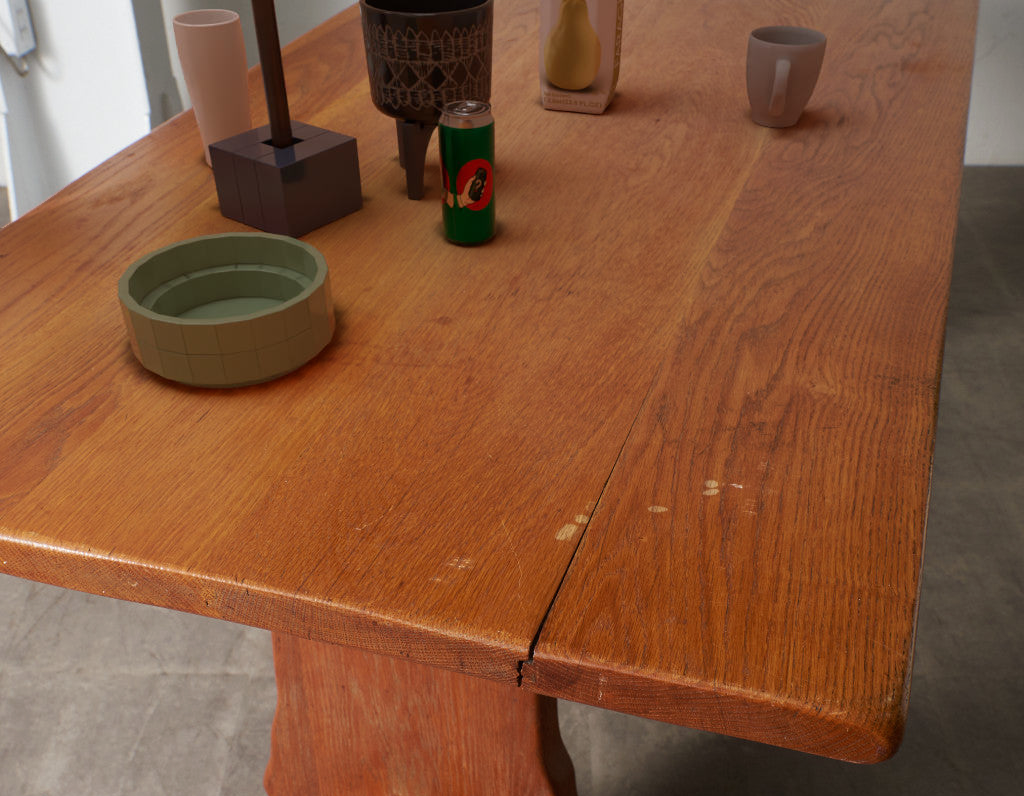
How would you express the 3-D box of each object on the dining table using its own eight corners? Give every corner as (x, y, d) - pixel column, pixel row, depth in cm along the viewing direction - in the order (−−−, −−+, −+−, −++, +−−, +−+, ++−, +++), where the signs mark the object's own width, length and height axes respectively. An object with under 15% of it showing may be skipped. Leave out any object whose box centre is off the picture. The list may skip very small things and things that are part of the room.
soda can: (505, 232, 97) (505, 104, 90) (478, 252, 94) (474, 120, 86) (461, 221, 99) (457, 95, 92) (432, 240, 96) (425, 111, 88)
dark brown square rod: (276, 211, 101) (242, -8, 89) (291, 205, 102) (260, -12, 90) (294, 217, 100) (262, -4, 87) (308, 211, 101) (279, -8, 89)
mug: (740, 106, 127) (752, 23, 120) (812, 111, 125) (828, 27, 119) (732, 138, 118) (745, 50, 111) (810, 144, 116) (826, 55, 110)
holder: (221, 215, 100) (207, 144, 96) (295, 184, 107) (285, 117, 102) (290, 240, 96) (279, 168, 91) (363, 207, 102) (356, 137, 97)
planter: (351, 177, 108) (332, -5, 97) (447, 150, 115) (440, -24, 103) (422, 214, 101) (410, 21, 89) (520, 182, 107) (521, -1, 96)
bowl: (95, 353, 80) (74, 283, 76) (247, 281, 89) (235, 216, 85) (226, 420, 72) (210, 346, 68) (376, 334, 82) (369, 265, 78)
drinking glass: (250, 177, 108) (225, 26, 99) (190, 173, 109) (159, 24, 100) (271, 155, 113) (249, 9, 104) (214, 151, 114) (187, 7, 105)
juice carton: (534, 111, 125) (536, -115, 110) (551, 92, 131) (555, -125, 116) (607, 118, 123) (620, -111, 108) (621, 98, 129) (635, -121, 114)
